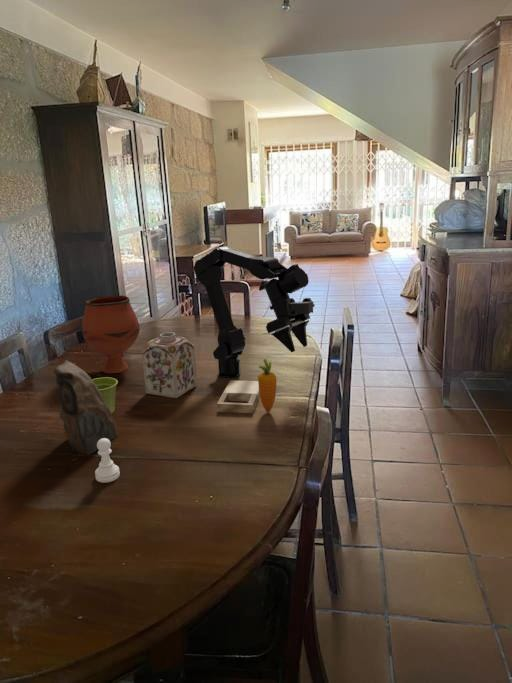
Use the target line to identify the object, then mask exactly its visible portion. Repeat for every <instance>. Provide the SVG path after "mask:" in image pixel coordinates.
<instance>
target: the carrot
mask: <svg viewBox="0 0 512 683" xmlns="http://www.w3.org/2000/svg"><path fill="white" fill-rule="evenodd" d="M263 362H264V365H258V368H259V369H261V370H262V371H263V372H262V373H260V374H258V376H257V379H258V380H257V381H258V384H259V393H260V397H259V399H260V402H261V404H262V406H263V408H264V410H265V412H267V413H270V412H271V411H272V408H273V406H274V404H275V400H276V394H277V375H276V374H275V373H274V372H271V368H272V362H271V361H269V362H268V361H267V358H264V359H263Z"/></svg>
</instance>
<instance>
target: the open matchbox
mask: <svg viewBox="0 0 512 683" xmlns="http://www.w3.org/2000/svg"><path fill="white" fill-rule="evenodd" d="M259 399H260V393H259V384H258V380H235V379H234V380H233V379H231V380H229V382H228V383H227V385H226V387H225V389H223V392H222V394H221V396H220V398H219V399H218V401H217V403H216V410H217V413H234V414H235V413H236V414H237V413H238V414H254V413H255V410H256V406H257V404H258V402H259ZM245 402H247V403H245Z"/></svg>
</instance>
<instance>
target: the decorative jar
mask: <svg viewBox="0 0 512 683" xmlns="http://www.w3.org/2000/svg"><path fill="white" fill-rule="evenodd" d="M195 354H196V353H195V345H194V344H193V343H192V342H191V341H190V340H188V339H187V338H186V337H184V336H176V333H175V332H173V331H170V332H169V331H168V332H163V333H160V334H159V337H156V338H153V339H151V340H149V341H148V342H147V344H146V346H145V347H144V349H143V350H142V354H141V355H142V365H143V366H142V367H143V376H144V377H143V378H144V385H145V394H147V395H154V396H160V397H166V398H171V399H178V398H180V397H181V396H182V395H184V394H186V393H187V392H189V391H190V390H192V389H194V388H195V387H197V385H198V384H197V368H196V365H197V364H196V355H195Z"/></svg>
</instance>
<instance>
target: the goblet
mask: <svg viewBox="0 0 512 683" xmlns="http://www.w3.org/2000/svg"><path fill="white" fill-rule="evenodd" d="M85 304H86V305H85V309H84V313H83V317H82V321H81V332H82V333H81V334H82V336H83V339H84V341H85V342H86V343H87V344H88V345H89V346H90V347H91V348H92V349H93V350H95V351H97V352H99V353H101V354H104V355H105V357H106V358H107V359H108V360H107V361H106V363H105V364H104V365H103V368H102V372H103V373H104V374H119V373H123V372H125V371H126V370H128V369H129V366H128V364H127V363H126V362H125V361H124V360H123V359H122V358H123V357H124V353H125V352H126V351H128V350H129V349H130V348H131V347H132V346H133V345H134V343H135V342H136V341H137V338H138V337H139V335H140V334H139V333H140V330H141V327H140V323H139V320H138V317H137V313H135V311H134V308H133V307H132V305H131V302H130V298H129V297H128V296H127V295H123V294H122V295H115V294H114V295H106V296H99V297H95V298H92V299H88V300H86V301H85Z"/></svg>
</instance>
